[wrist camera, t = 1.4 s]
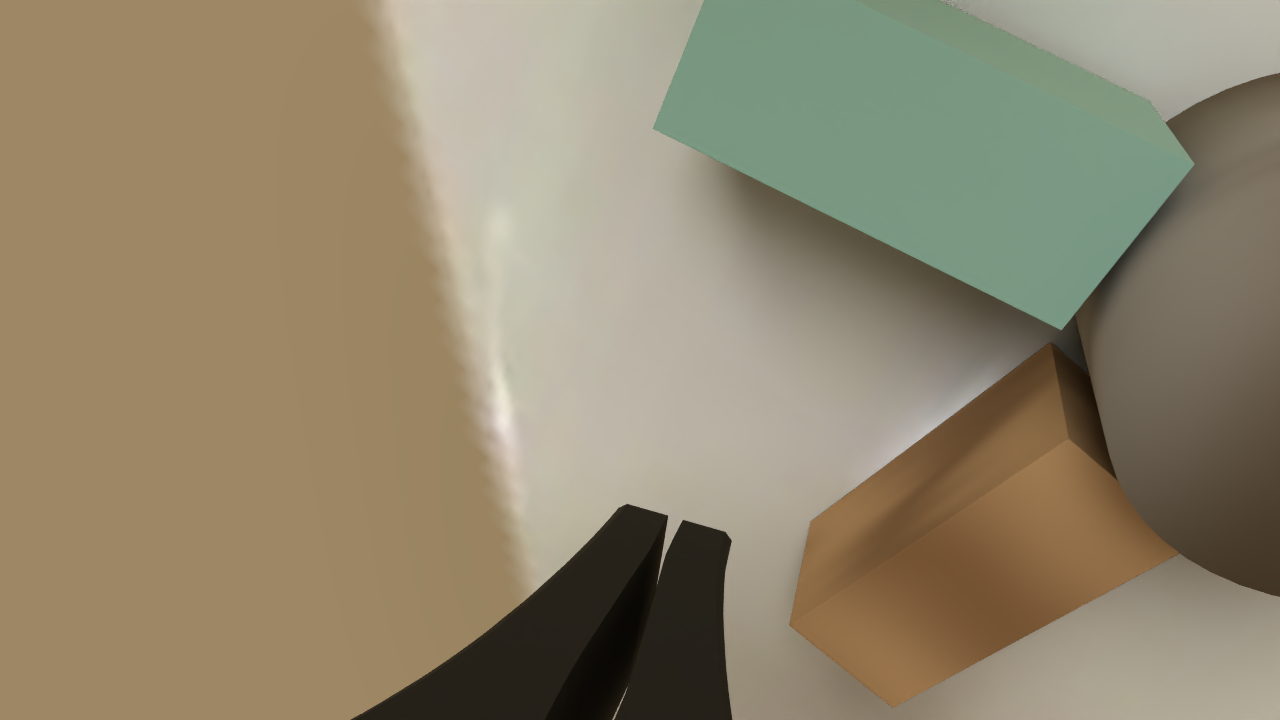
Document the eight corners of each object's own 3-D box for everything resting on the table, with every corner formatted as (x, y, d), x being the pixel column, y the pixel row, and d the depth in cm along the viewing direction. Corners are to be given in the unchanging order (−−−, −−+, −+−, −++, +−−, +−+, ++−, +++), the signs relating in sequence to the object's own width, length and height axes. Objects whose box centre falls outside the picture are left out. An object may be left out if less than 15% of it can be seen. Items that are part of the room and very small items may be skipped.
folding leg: (1150, 101, 15) (1195, 164, 12) (1043, 245, 17) (1061, 330, 14) (769, -81, 16) (728, -60, 13) (702, 78, 17) (653, 128, 14)
